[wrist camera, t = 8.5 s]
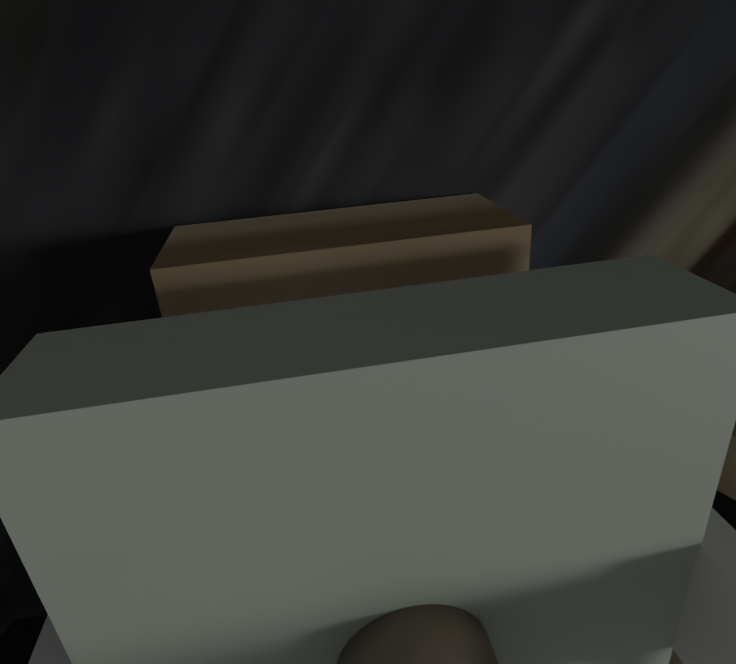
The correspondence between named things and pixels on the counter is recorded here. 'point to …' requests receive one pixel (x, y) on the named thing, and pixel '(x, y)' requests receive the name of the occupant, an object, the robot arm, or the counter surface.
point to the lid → (378, 472)
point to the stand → (336, 253)
